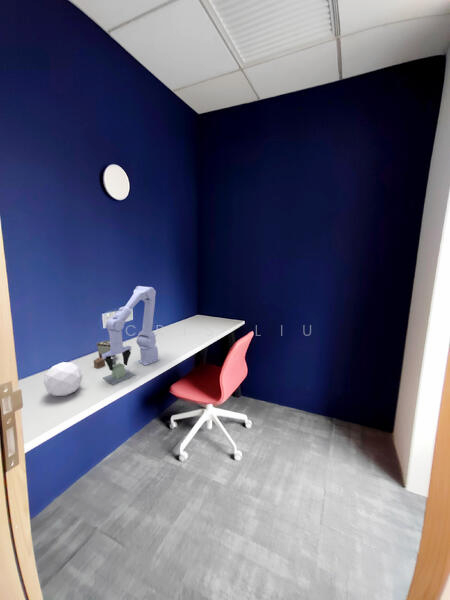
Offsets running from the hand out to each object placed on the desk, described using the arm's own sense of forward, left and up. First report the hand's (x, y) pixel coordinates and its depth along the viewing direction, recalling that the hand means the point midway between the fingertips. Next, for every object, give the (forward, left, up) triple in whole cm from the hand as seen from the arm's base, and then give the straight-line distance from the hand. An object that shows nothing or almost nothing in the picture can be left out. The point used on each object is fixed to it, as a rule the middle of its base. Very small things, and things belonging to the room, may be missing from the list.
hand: (118, 367), depth 129 cm
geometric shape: (+23, -5, -6) cm, 24 cm away
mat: (0, 0, -6) cm, 6 cm away
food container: (-8, -26, -6) cm, 28 cm away
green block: (0, 0, -5) cm, 5 cm away
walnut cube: (+1, -19, -6) cm, 20 cm away
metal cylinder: (-5, -17, -5) cm, 19 cm away
